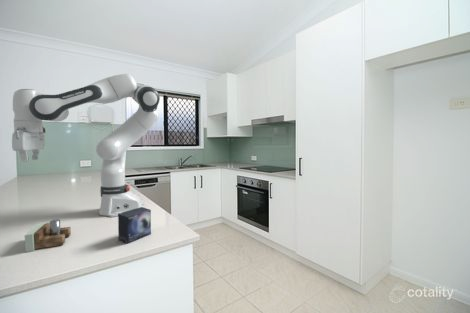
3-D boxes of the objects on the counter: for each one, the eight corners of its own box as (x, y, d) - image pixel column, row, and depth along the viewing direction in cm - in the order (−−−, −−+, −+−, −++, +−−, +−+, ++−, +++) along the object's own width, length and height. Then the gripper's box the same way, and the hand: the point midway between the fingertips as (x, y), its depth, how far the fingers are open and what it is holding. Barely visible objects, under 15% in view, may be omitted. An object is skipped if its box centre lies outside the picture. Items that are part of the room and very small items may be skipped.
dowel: (61, 239, 85) (61, 218, 84) (59, 242, 82) (58, 221, 81) (52, 240, 84) (51, 220, 83) (49, 243, 81) (48, 222, 80)
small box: (127, 244, 81) (126, 216, 80) (117, 240, 84) (116, 213, 84) (152, 234, 90) (151, 209, 89) (142, 230, 93) (141, 206, 93)
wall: (47, 236, 86) (46, 222, 86) (33, 251, 75) (32, 234, 75) (40, 237, 86) (39, 222, 85) (25, 252, 75) (24, 235, 74)
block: (70, 233, 89) (70, 220, 88) (62, 244, 80) (62, 230, 79) (45, 237, 86) (45, 223, 85) (34, 249, 76) (33, 233, 76)
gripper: (26, 127, 85) (28, 162, 86) (47, 129, 104) (48, 158, 105) (4, 126, 83) (7, 163, 84) (30, 129, 101) (31, 158, 102)
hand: (30, 160), depth 95 cm, fingers open, 8 cm apart
